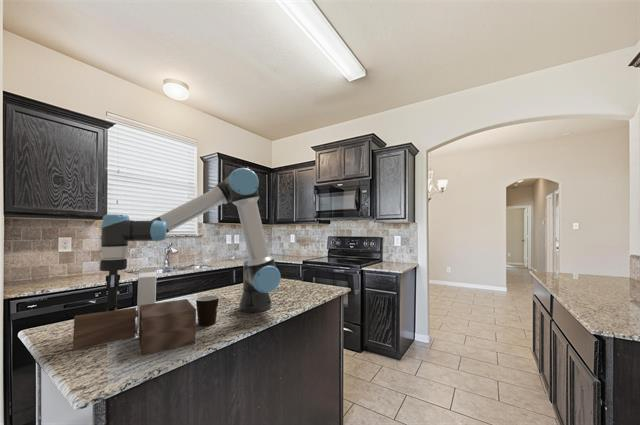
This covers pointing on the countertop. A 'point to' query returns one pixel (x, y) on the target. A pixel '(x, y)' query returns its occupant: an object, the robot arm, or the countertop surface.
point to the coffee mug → (207, 310)
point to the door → (104, 327)
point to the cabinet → (166, 326)
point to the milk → (146, 288)
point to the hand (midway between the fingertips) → (110, 327)
